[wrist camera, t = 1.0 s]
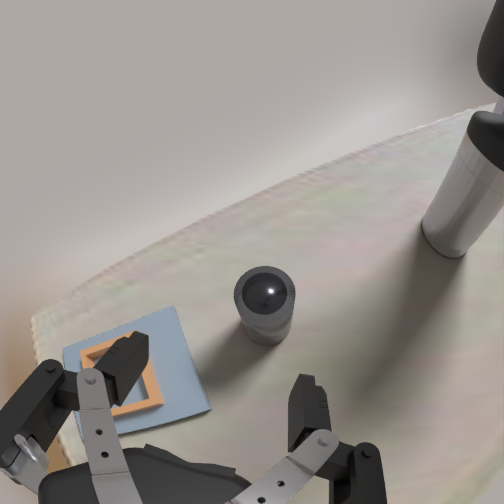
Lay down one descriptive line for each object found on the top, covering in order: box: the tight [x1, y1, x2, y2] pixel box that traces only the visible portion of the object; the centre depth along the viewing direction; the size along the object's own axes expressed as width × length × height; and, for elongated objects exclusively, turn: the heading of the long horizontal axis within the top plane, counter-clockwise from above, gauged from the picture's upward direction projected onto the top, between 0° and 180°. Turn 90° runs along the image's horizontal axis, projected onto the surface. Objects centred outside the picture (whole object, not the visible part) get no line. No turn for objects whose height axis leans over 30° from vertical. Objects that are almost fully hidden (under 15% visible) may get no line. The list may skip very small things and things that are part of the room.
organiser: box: [62, 306, 212, 439], centre depth 27 cm, size 18×13×3 cm
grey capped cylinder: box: [234, 266, 295, 346], centre depth 27 cm, size 5×5×9 cm
